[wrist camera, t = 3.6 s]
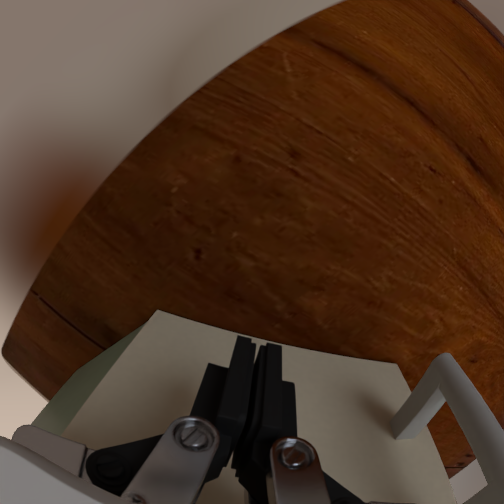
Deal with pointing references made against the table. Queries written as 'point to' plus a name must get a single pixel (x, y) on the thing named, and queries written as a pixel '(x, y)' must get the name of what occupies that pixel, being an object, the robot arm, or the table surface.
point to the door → (303, 413)
